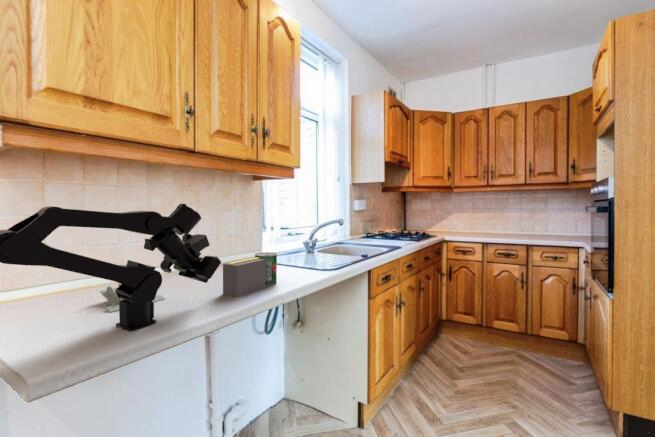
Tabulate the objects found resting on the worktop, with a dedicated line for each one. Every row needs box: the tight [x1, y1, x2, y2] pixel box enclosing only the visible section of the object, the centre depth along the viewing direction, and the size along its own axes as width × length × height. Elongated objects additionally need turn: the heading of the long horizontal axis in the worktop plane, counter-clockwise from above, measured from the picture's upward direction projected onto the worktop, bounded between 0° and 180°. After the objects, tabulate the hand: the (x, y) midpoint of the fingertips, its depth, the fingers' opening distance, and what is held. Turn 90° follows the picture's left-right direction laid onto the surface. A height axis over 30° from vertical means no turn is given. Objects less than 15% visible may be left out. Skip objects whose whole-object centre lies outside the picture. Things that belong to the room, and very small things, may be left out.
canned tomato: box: [254, 252, 278, 287], centre depth 121 cm, size 8×8×11 cm
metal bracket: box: [99, 283, 166, 314], centre depth 97 cm, size 14×6×15 cm
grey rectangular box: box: [222, 257, 266, 298], centre depth 111 cm, size 14×6×10 cm, turn 152°
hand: (206, 281), depth 97 cm, fingers closed
